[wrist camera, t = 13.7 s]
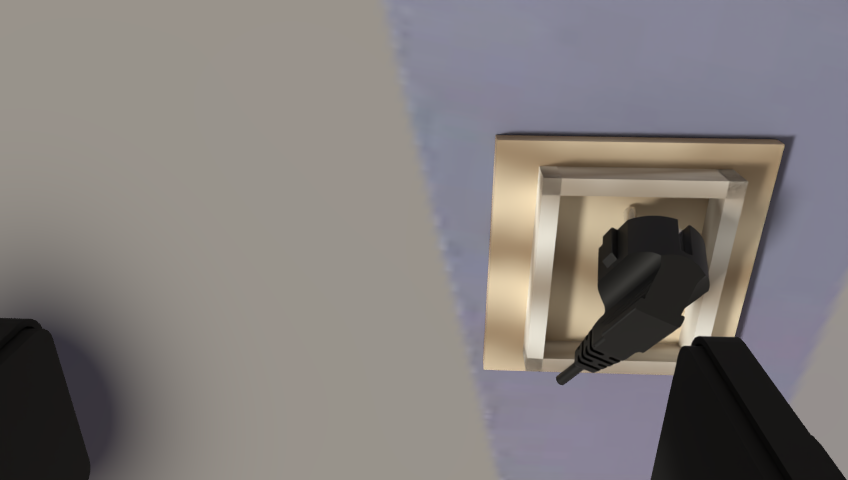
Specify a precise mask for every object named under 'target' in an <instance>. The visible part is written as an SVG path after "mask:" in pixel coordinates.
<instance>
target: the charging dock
mask: <svg viewBox="0 0 848 480" xmlns="http://www.w3.org/2000/svg"><path fill="white" fill-rule="evenodd" d="M784 146H785V144H783V143H781V142H780V141H778V140H777V139H718V138H654V137H590V136H526V135H496V140H495V158H494V176H493V194H492V212H491V230H490V247H489V265H488V283H487V301H486V319H485V337H484V355H483V365H484V370H516V371H543V372H563V371H564V370H565V369H567V368H568V367H569V366H570V365H572V364H573V363H574V358H575V350H576V349H577V347H578V346H580V343H581V342H582V341H583V340H584V338H585V337H586V335H588V333H589V331H590V330H591V329H592V327H593V326H594V324H595V323H596V322H597V321H598V319H599V318H600V317H602V316H603V314H604V312H605V307H604V304H603V302H602V299H601V297H600V294H599V291H598V285H597V283H598V249H599V247H600V246H601V245H602V244H603V236H604V235H605V234H606V233H607V232H608V231H609V230H610V229H611V228H612V227H613V228H615V229H617V230H618V229H619V228H620V227H621V226H622V225H623V224H624V210H625V209H626V208H627V207H634V208H635V209H636V210H637V217H641V216H665V217H671V218H674V219H678V227H679V229H681V230H684V229H685V228H686V227H687V226H688V225H691V226H692V227H693V228H695V229H696V230H697V231H698V232H699V233H700V235H701V236H702V238H703V240H704V243H705V248H706V256H707V264H708V273H709V281H710V288H709V291H708V292H707V293H705V294H704V295H702V296H701V297H700V298H698V299H697V300H696V301H694V302H693V303H692V304H690V305H689V306H687V307H686V308H685V309H684V311H683V313H682V315H683V316H684V317H685V319H684V322H683V324H682V326H681V327H680V328H678V329H677V330H675V331H674V332H673V333H671V334H670V335H668V336H667V337H665V338H664V339H663V340H661V341H660V342H658V343H657V344H655V345H654V346H653V347H651V348H650V349H648V350H647V351H646V352H644V353H641V352H638V353H635V354H633V355H632V356H630V357H629V358H628V359H626V360H624V361H620V362H619V363H617V364H613V365H612V366H609V367H608V366H607V368H605V369H601V370H600V371H597V372H595V373H615V374H651V375H674V371H675V367H676V362H677V357H678V353H679V350H680V349H681V347H682V346H691V344H692V341H693V340H694V338H695V337H697V336H717V337H735V333H736V329H737V325H738V322H739V318H740V314H741V310H742V306H743V303H744V299H745V295H746V291H747V287H748V283H749V280H750V276H751V272H752V268H753V264H754V261H755V257H756V253H757V249H758V245H759V241H760V238H761V234H762V230H763V226H764V222H765V219H766V215H767V211H768V207H769V203H770V199H771V196H772V192H773V188H774V184H775V180H776V177H777V173H778V169H779V165H780V161H781V157H782V154H783V150H784ZM580 373H592V372H589V371H587V370H583V371H581V372H580Z"/></svg>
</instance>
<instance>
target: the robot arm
mask: <svg viewBox="0 0 848 480" xmlns="http://www.w3.org/2000/svg"><path fill="white" fill-rule="evenodd" d="M89 475H90V461H89V457H88V454H87V451H86V448H85V444H84V441H83V437H82V434H81V431H80V427H79V424H78V421H77V417H76V414H75V411H74V407H73V404H72V401H71V397H70V394H69V391H68V387H67V384H66V381H65V377H64V374H63V371H62V367H61V364H60V361H59V358H58V354H57V351H56V348H55V344H54V341H53V338H52V336H51V334H50V333H49V331H47V330H45V329H42V327H41V325H40V324H39V323H38V322H37V321H36V320H33V319H16V318H14V319H12V318H0V480H88V479H89ZM651 480H846V478H845V477H844V476H843V474H842V473H841V472H840V470H839V469H838V467H837V466H836V465H835V463H834V462H833V460H832V459H831V458H830V457H829V455H828V454H827V452H826V451H825V450H824V448H823V447H822V445H821V444H820V443H819V442H818V441H817V440H816V439H815V438H814V437H813V436H812V435H810V433H809V432H808V430H807V429H806V428H805V426H804V425H803V423H802V422H801V421H800V419H799V418H798V417H797V415H796V414H795V412H794V411H793V410H792V408H791V407H790V405H789V404H788V403H787V401H786V400H785V398H784V397H783V396H782V394H781V393H780V391H779V390H778V389H777V387H776V386H775V385H774V383H773V382H772V380H771V379H770V378H769V376H768V375H767V373H766V372H765V371H764V369H763V368H762V366H761V365H760V364H759V362H758V361H757V359H756V358H755V357H754V355H753V354H752V353H751V351H750V350H749V348H748V347H747V346H746V344H745V343H744V342H743V341H742V340H741V339H740V338H738V337H717V336H697V337H695V338H694V340H693V341H692V344H691V346H682V347H681V349H680V350H679V353H678V357H677V362H676V367H675V371H674V376H673V380H672V385H671V389H670V394H669V399H668V403H667V408H666V412H665V417H664V421H663V426H662V431H661V435H660V440H659V444H658V449H657V453H656V458H655V463H654V467H653V472H652V476H651Z"/></svg>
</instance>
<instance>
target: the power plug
mask: <svg viewBox="0 0 848 480" xmlns="http://www.w3.org/2000/svg"><path fill="white" fill-rule="evenodd" d="M597 285H598V291H599V294H600V297H601V299H602V302H603V304H604V307H605V312H604V314H603V316H602V317H600V318H599V319H598V321H597V322H596V323H595V324H594V326H593V327H592V329H591V330H590V331H589V333H588V335H586V337H585V338H584V340H583V341H582V342H581V343H580V346H578V347H577V349H576V350H575V358H574V363H573V364H572V365H570V366H569V367H568V368H567V369H565V370H564V371H563V372H562V373H560V374H559V375H558V376H557V377H556V380H557V382H558V383H559V384H560V385H564V384H565V383H567V382H568V381H569V380H571V379H572V378H573V377H575V376H576V375H577V374H579V373H580V372H581V371H583V370H587V371H589V372H592V373H595V372H597V371H600V370H601V369H605V368H607V366H608V367H609V366H612V365H613V364H617V363H619V362H620V361H624V360H626V359H628V358H629V357H630V356H632V355H633V354H635V353H638V352H641V353H644V352H646V351H647V350H648V349H650V348H651V347H653V346H654V345H655V344H657V343H658V342H660V341H661V340H663V339H664V338H665V337H667V336H668V335H670V334H671V333H673V332H674V331H675V330H677V329H678V328H680V327H681V326H682V324H683V322H684V319H685V317H684V316H683V315H682V313H683V311H684V309H685V308H686V307H687V306H689V305H690V304H692V303H693V302H694V301H696V300H697V299H698V298H700V297H701V296H702V295H704V294H705V293H707V292H708V291H709V288H710V281H709V273H708V264H707V256H706V248H705V243H704V240H703V238H702V236H701V235H700V233H699V232H698V231H697V230H696V229H695V228H693V227H692V226H691V225H688V226H687V227H686V228H685V229H684V230H681V229H679V227H678V219H674V218H671V217H665V216H641V217H637V210H636V209H635V208H634V207H627V208H626V209H625V210H624V224H623V225H622V226H621V227H620V228H619V229H618V230H617V229H615V228H613V227H612V228H611V229H610V230H609V231H608V232H607V233H606V234H605V235H604V236H603V244H602V245H601V246H600V247H599V249H598V283H597Z"/></svg>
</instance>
